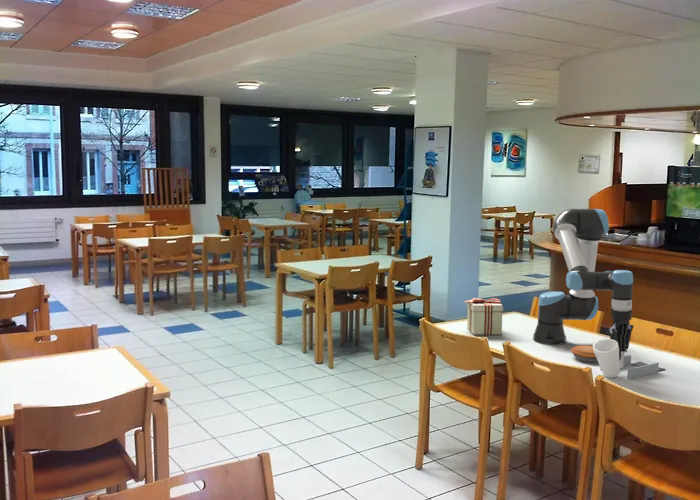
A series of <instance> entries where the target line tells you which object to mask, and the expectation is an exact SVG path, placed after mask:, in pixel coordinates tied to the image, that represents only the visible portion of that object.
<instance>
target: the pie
mask: <svg viewBox="0 0 700 500" xmlns="http://www.w3.org/2000/svg"><path fill="white" fill-rule="evenodd" d="M570 351H571V353H572V354H573V356H574V358H575V359H576V360H578V361H580V362H584V363H595V364H597V363H598V360H597V358H596V355H595V354H594V350H593V345H590V344H589V345H587V344H585V345H584V344H583V345H582V344H581V345H576V346H574V347H572V348H570ZM598 364H599V363H598Z"/></svg>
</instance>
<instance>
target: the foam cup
mask: <svg viewBox="0 0 700 500" xmlns="http://www.w3.org/2000/svg"><path fill="white" fill-rule="evenodd" d="M592 346H593V350H594V354H595V355H596V358H597V360H598V365H599V368H600V367H601V370H600V371H601V372H602V374H603V376H605V378H615V377H618V376H619V375H620V373H621V368H620V364H619V346H618V342H617V341H615V340H613V339H610V338H602V339H599V340H597V341H595V342H594V344H593V345H592Z"/></svg>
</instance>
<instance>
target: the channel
mask: <svg viewBox="0 0 700 500" xmlns="http://www.w3.org/2000/svg"><path fill="white" fill-rule="evenodd" d="M631 360H632V354H626V355H624V366H623V367H625V366H629V365H631V363H632V361H631ZM647 364H648V365H644V366H639V367H638V366H634V367H631V368H627V377H626V378H627V380H632V379H636V378H640V377H644V376H649V375H653V374H657V373H658V374H659V372H658V367H659V362H653V363H650V364H649V363H647ZM599 368H600V371H602V370H601V367H600V366H599Z"/></svg>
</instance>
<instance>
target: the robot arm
mask: <svg viewBox="0 0 700 500" xmlns="http://www.w3.org/2000/svg"><path fill="white" fill-rule="evenodd" d="M552 230H553V234H554V237H555V239H556V240H558V242H559V245H560V248H561V250H562V254H563V257H564V260H565V263H566V266H567V270H568V272H567V273H566V277H565V282H566V283H565V284H566V287H567V288H568V289H569V292H568V294H566V295H565V293H564V292H563V291H546V292H543V293H541V294H540V295H539V297H538V303H537V305H538V309H537V311H538V312H537V325H536V327H535V330H534V332H533V335H532V336H533V337H532V340H533V341H534V342H537V343H539V344H540V343H541V344H545V345H564V344H566V342H567V336H566V332H565V329H564V320H566V321H568V320H569V321H570V320H572V321H573V320H574V321H591V320H593V319H594V318H596V317H597V316H596V315H597V313H598V311H599V299H598V296H596V293H595V292H594V291H611V310H610V311H611V312H610V314H611V315H610V318H611V319H612V320H613V322H612V323H611V324H612V326H611V327H608V328H607V331H608V333H609V339H613V340H615V341H617V342H618V346H619V364H620V369H623V368H624V367H625V366H624V356H625V353H626V352H628V350H629V347H630V342H631V336H632V332H633V329H634V327H635V326H634V325H633V324H630V320H632V313H633V312H632V309H633V308H632V307H633V289H634V287H633V285H634V275H633V272H632V271H630V270H627V269H625V270H624V269H615V270H606V271H595V270H596V265H597V264H596V263H597V256H598V255H597V254H598V247H599V243H600V242H601V241H603V237H604V236H605V235H607V234H608V232H609V230H610V223H609V218H608V213H606V211H605V210H604V209H598V208H597V209H596V208H568V209H565V210H563V211H561V213H559V214H558V215H557V216H556V217H555V219H554V222H553V228H552Z"/></svg>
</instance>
